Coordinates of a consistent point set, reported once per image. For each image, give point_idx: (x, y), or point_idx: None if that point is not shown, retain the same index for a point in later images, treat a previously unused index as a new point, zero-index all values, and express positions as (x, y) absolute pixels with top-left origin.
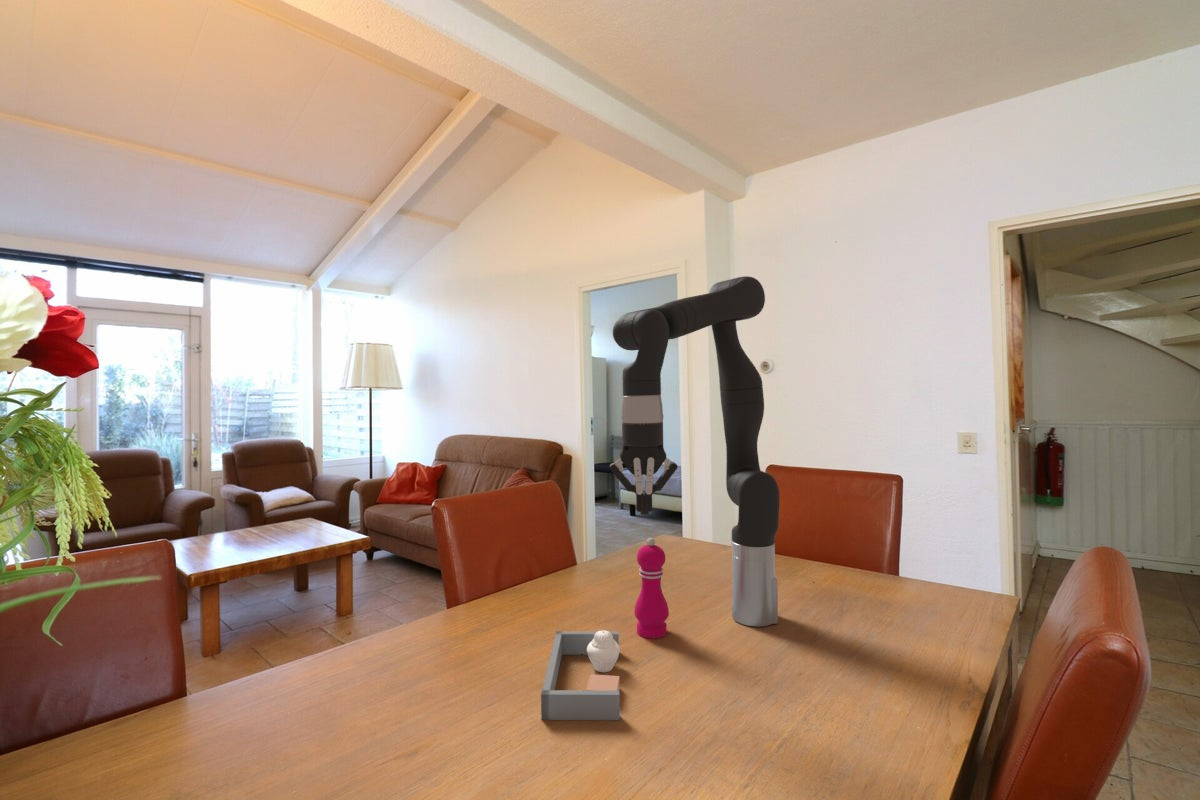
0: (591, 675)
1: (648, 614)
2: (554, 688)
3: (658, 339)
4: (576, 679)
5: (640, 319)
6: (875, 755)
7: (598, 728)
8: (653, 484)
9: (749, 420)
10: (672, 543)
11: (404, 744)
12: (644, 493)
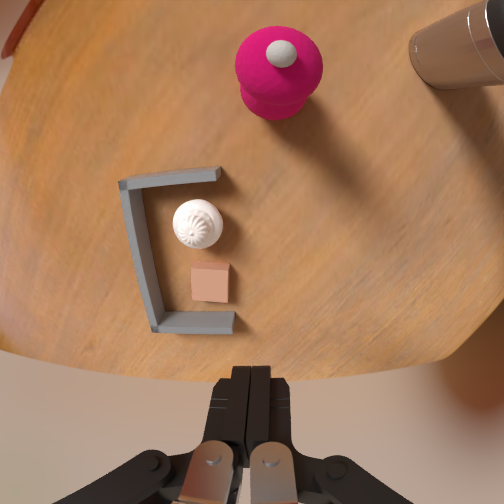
0: (192, 270)
1: (268, 117)
2: (155, 275)
3: None
4: (173, 245)
5: None
6: (434, 337)
7: None
8: (304, 496)
9: None
10: None
11: (80, 338)
12: (250, 449)
